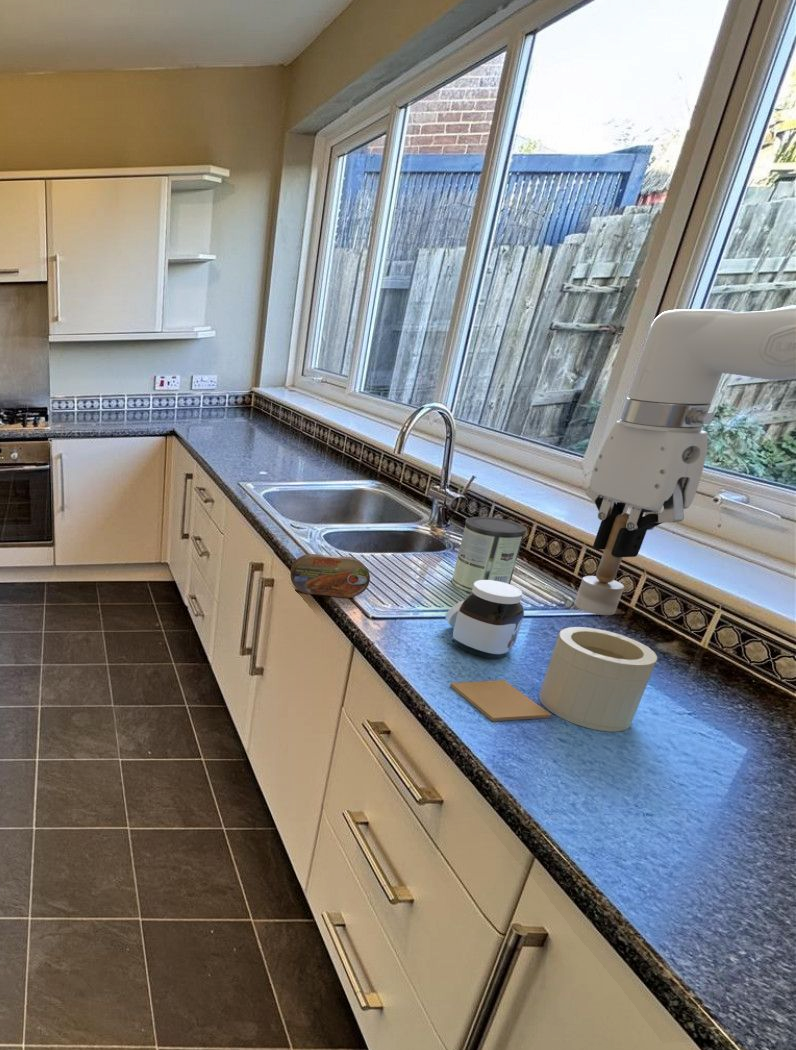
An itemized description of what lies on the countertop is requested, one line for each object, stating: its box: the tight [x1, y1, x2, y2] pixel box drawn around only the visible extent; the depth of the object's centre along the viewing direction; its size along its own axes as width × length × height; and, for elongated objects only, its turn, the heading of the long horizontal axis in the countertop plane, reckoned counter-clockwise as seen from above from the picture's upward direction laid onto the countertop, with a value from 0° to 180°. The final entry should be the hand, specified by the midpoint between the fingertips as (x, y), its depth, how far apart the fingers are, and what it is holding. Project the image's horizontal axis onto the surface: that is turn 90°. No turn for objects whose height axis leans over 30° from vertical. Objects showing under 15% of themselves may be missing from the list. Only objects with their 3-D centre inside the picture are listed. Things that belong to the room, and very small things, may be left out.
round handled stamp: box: [573, 512, 630, 616], centre depth 84 cm, size 4×4×14 cm
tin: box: [290, 553, 371, 599], centre depth 128 cm, size 15×3×8 cm, turn 73°
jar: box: [538, 626, 659, 733], centre depth 90 cm, size 11×11×11 cm
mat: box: [449, 679, 552, 722], centre depth 94 cm, size 9×9×1 cm
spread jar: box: [445, 580, 525, 659], centre depth 108 cm, size 12×11×12 cm
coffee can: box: [451, 516, 527, 594], centre depth 129 cm, size 10×10×14 cm
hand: (614, 551), depth 83 cm, fingers closed on round handled stamp, 2 cm apart
